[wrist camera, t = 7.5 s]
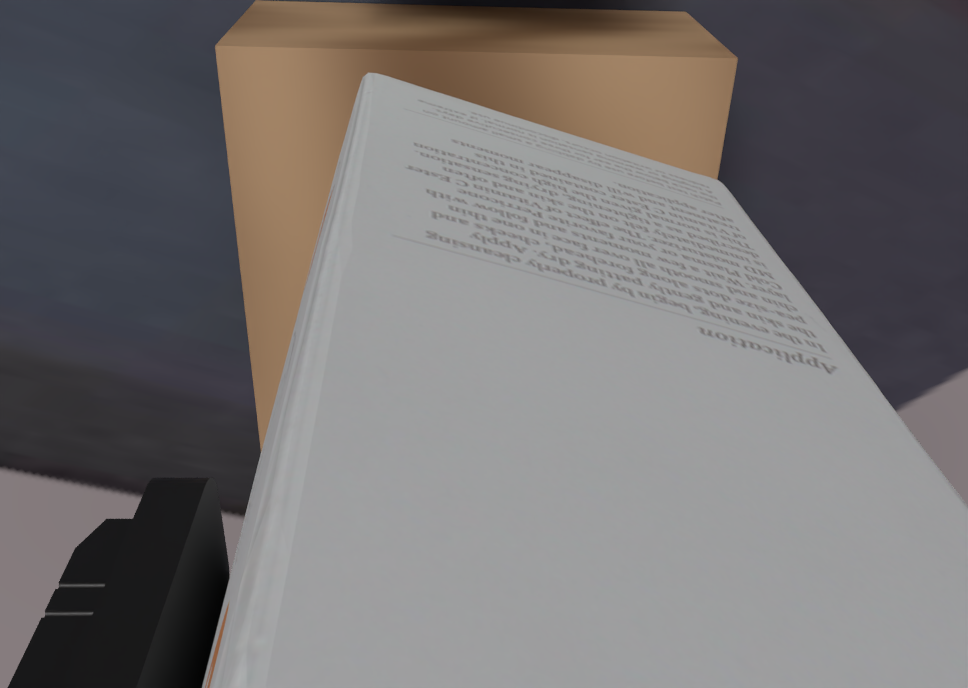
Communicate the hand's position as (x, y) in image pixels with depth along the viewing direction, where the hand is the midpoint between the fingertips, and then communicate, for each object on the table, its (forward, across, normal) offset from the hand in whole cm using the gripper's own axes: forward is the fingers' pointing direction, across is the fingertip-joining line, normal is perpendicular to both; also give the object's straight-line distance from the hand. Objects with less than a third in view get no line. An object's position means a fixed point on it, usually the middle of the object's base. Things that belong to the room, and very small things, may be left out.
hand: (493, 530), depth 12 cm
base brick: (+11, 0, 0) cm, 11 cm away
